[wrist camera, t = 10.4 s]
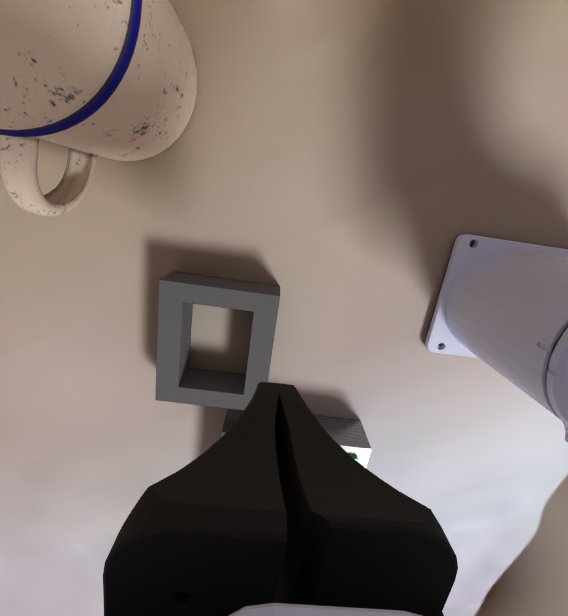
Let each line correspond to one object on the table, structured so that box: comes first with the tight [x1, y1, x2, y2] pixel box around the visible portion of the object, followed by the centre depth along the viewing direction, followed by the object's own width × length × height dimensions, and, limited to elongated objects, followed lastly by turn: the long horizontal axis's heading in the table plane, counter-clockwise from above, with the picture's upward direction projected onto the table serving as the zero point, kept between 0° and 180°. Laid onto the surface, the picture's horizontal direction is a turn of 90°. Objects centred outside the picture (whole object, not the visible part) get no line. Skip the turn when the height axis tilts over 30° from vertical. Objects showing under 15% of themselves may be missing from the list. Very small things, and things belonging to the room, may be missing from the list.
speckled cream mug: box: [0, 0, 197, 216], centre depth 13 cm, size 12×9×12 cm
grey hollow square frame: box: [155, 272, 280, 410], centre depth 21 cm, size 7×8×2 cm
